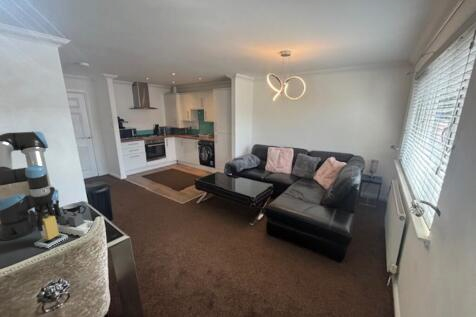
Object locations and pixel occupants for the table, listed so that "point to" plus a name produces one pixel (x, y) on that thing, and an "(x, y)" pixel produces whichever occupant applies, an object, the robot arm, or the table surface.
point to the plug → (50, 226)
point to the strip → (75, 230)
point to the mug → (73, 208)
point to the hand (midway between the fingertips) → (49, 232)
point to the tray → (41, 244)
